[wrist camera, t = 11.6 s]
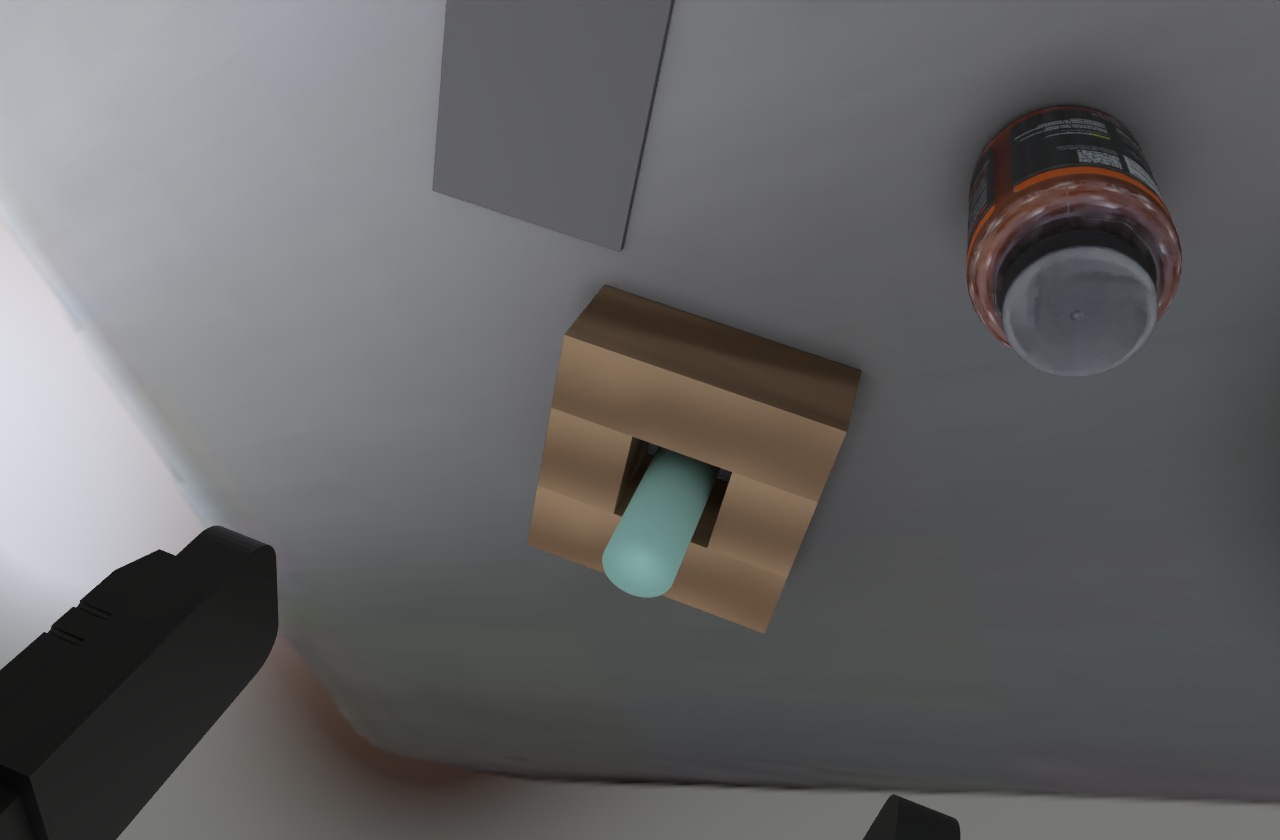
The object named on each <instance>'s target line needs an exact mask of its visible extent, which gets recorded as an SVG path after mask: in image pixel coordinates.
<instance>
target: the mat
mask: <svg viewBox="0 0 1280 840" xmlns="http://www.w3.org/2000/svg"><path fill="white" fill-rule="evenodd" d="M673 3H674V0H447V2H446V15H445V29H444V42H443V56H442V70H441V83H440V97H439V110H438V124H437V137H436V151H435V165H434V178H433V191H435V192H438V193H441V194H444V195H447V196H450V197H453V198H456V199H460V200H463V201H466V202H469V203H472V204H475V205H478V206H481V207H484V208H487V209H490V210H493V211H496V212H499V213H502V214H505V215H508V216H511V217H514V218H517V219H520V220H523V221H526V222H529V223H532V224H536V225H539V226H542V227H545V228H548V229H551V230H554V231H557V232H560V233H563V234H566V235H569V236H572V237H575V238H578V239H581V240H584V241H587V242H590V243H593V244H596V245H599V246H602V247H605V248H608V249H611V250H615V251H618V252H621V251H622V249H623V246H624V241H625V236H626V231H627V226H628V222H629V217H630V212H631V207H632V202H633V197H634V192H635V188H636V183H637V178H638V173H639V168H640V163H641V158H642V153H643V149H644V144H645V139H646V134H647V129H648V124H649V119H650V115H651V110H652V105H653V100H654V95H655V90H656V85H657V81H658V76H659V71H660V66H661V61H662V56H663V51H664V47H665V42H666V37H667V32H668V27H669V22H670V17H671V12H672V8H673Z"/></svg>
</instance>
